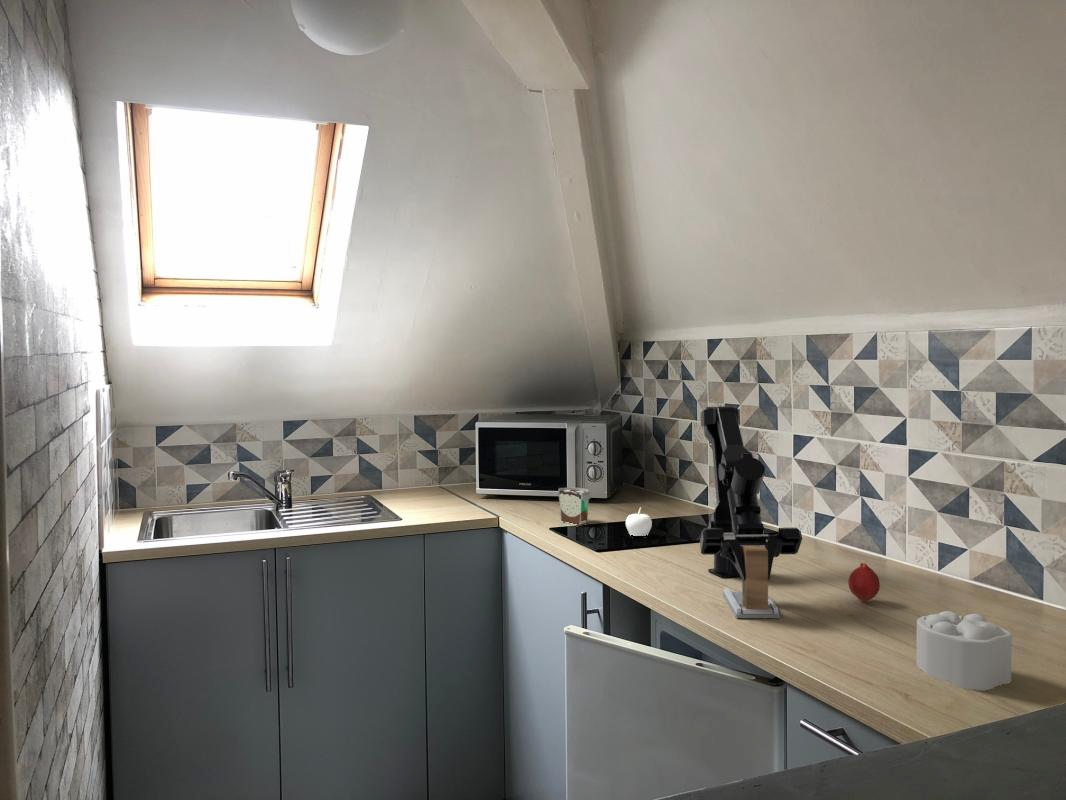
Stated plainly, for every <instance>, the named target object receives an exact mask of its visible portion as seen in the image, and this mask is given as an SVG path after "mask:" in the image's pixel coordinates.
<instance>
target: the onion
mask: <svg viewBox="0 0 1066 800" xmlns="http://www.w3.org/2000/svg"><path fill="white" fill-rule="evenodd" d="M847 583H848V588H849V591H850V592H851V593H852V594H853V596H855V597H856V598H857V600H859V601H860V602H861V603H867V602H870V600H872V599H873V598H875V597H876V596H877V595H878V594H879V592H880V586H881V583H880V579H879V576H878V574H877V573H876V572H875V571H874V570H873V569H872V568H871V567H870V566H869V565H868V564H867V563H866V562H863V561H862V562H861V563H860V564H859V566H858V567H857V568H855V569H854V570H852V572H851V573H850V575H849V578H848V582H847Z"/></svg>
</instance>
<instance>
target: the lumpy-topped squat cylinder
mask: <svg viewBox="0 0 1066 800" xmlns="http://www.w3.org/2000/svg"><path fill="white" fill-rule="evenodd" d="M1012 637H1013V634H1012V633H1011V632H1010V631H1008V630H1007V629H1005V628H1002V627H1000V626H998V625H996V624H995V623H993V622H988V620H987V619H986V618H985V617H984V616H983V615H981V614H979V613H970V614H967V615H965V616H963V615H958V614H957V613H955V612H953V611H949V610H944V611H941V612H939V613H932V614H929V615H923V616H921V617H919V618H917V620H916V660H915V661H916V664H917V665H916V668H917V667H918V668H919V669H921V670H922V671H923V672H924V673H926V674H928V675H930V676H932V677H935V678H938V679H941V680H943V681H946V682H949V683H952V684H954V685H953V686H955V685H957V686H956V687H958V686H961V687H963V688H962V689H965V688H966V689H965V690H972V691H977V692H987V691H986V690H988V691H991V690H993V689H995V688H997V687H999V685H1000V686H1003V685H1002V684H1005V685H1008V683H1009V684H1011V683H1010V682H1012V660H1013V659H1012V657H1013V656H1012V651H1013V645H1012V643H1013V642H1012V640H1013V638H1012ZM918 668H917V669H918ZM919 669H918V670H919ZM922 671H921V672H922ZM923 672H922V673H923ZM924 673H923V674H924ZM926 674H925V675H926ZM932 677H931V678H932ZM996 686H997V687H996ZM961 687H960V688H961ZM994 687H995V688H994ZM990 689H991V690H990Z"/></svg>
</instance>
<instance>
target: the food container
mask: <svg viewBox="0 0 1066 800" xmlns="http://www.w3.org/2000/svg"><path fill="white" fill-rule="evenodd" d="M557 496H558V500H559V501H558V502H559V513H560V522H561V521H563V522H569V523H573V524H577V525H585V524H587V525H588V518H589V517H588V515H589V501H590V499H592V497H591V496H592V495H591V492H590V490H589V489H587V488H584V487H583V488H582V487H559V488H558V491H557ZM563 522H562V523H563Z"/></svg>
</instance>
